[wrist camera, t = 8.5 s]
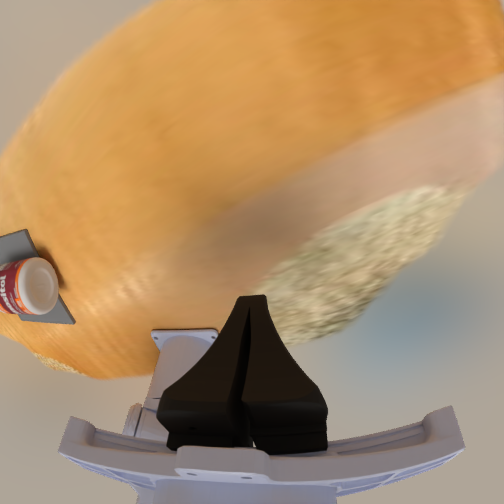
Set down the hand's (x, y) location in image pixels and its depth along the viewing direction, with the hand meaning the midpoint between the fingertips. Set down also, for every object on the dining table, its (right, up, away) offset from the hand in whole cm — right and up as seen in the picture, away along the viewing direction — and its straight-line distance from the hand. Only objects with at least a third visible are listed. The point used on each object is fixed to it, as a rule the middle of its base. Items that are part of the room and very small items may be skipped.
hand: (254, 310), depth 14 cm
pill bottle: (-22, -1, +9) cm, 24 cm away
